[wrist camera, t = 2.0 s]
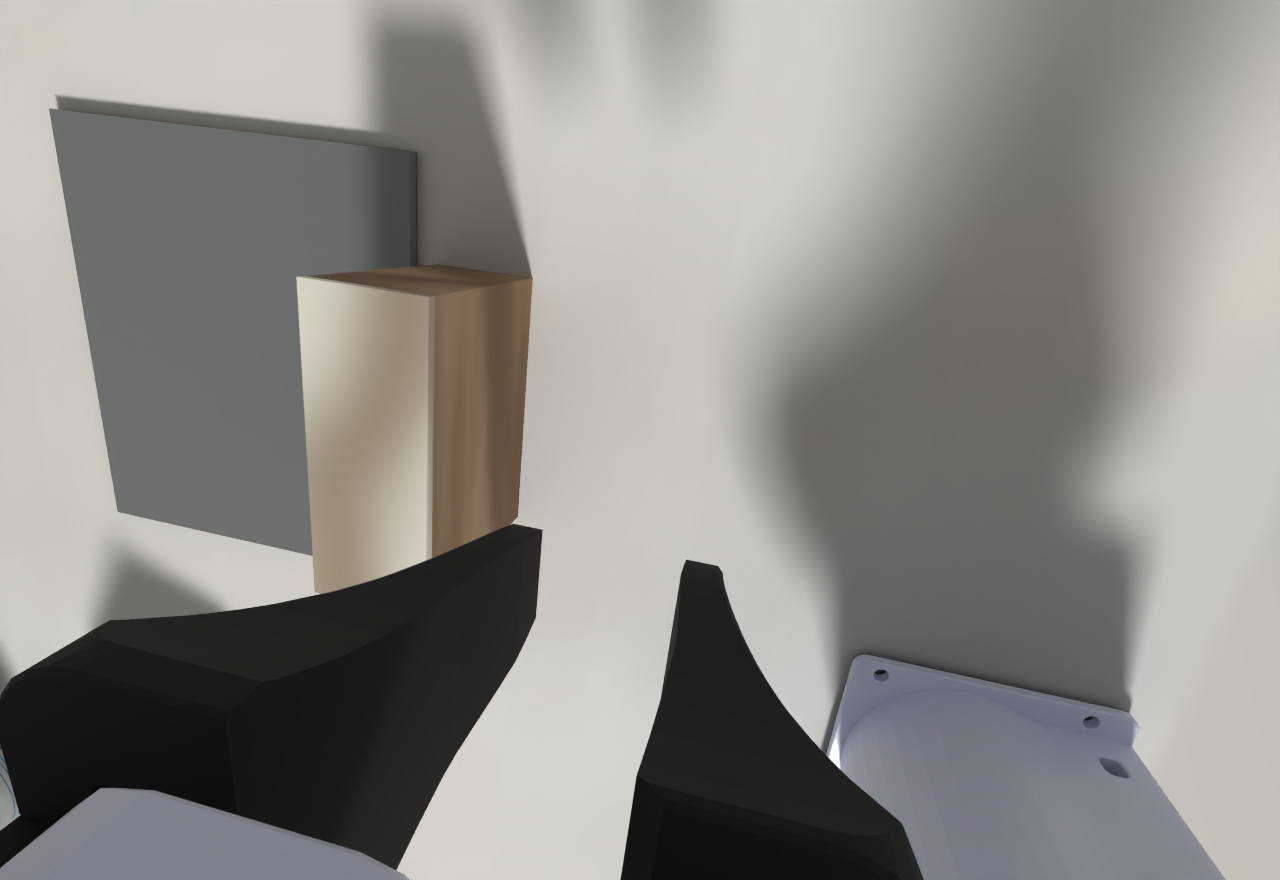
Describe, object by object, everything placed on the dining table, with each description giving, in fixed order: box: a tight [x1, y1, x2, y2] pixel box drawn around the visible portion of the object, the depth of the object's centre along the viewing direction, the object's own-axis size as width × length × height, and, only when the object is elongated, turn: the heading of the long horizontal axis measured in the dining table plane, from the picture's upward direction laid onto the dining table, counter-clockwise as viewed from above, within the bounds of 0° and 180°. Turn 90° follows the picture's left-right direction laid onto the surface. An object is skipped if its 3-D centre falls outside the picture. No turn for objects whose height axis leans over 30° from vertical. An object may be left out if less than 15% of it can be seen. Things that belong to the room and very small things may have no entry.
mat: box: [49, 109, 417, 556], centre depth 24 cm, size 14×16×1 cm
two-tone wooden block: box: [296, 265, 532, 594], centre depth 20 cm, size 4×9×7 cm, turn 173°
